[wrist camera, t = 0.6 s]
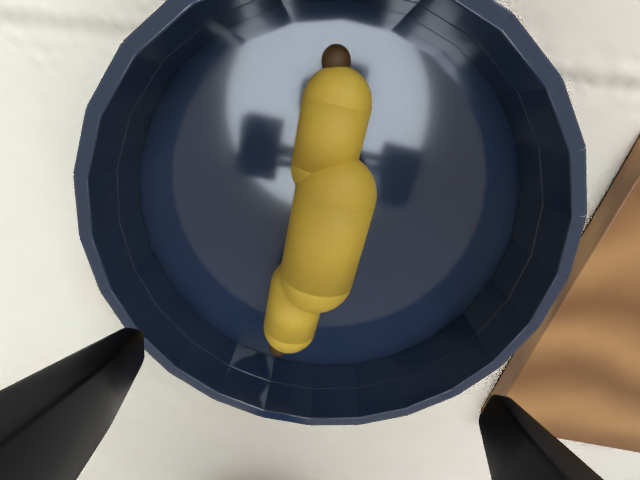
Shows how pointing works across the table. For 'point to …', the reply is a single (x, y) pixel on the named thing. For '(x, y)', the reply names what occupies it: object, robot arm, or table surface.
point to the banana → (323, 204)
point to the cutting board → (590, 333)
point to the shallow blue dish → (278, 190)
